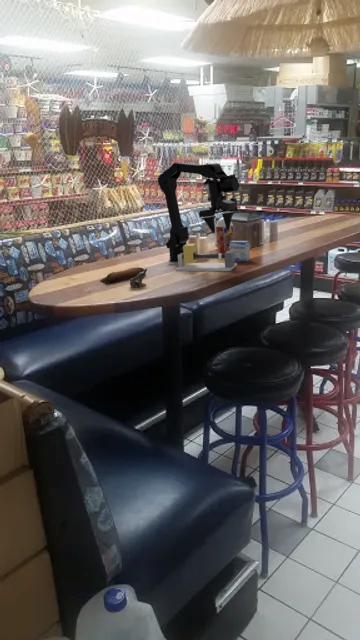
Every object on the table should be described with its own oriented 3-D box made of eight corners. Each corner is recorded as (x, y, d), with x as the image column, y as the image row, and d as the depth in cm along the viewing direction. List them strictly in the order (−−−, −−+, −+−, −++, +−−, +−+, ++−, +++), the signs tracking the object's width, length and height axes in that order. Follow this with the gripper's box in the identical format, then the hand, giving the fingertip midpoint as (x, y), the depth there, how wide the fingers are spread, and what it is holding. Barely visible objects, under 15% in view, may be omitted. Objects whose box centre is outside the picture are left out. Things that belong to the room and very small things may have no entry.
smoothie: (234, 254, 245) (233, 211, 239) (217, 255, 246) (215, 213, 239) (233, 251, 253) (232, 210, 247) (216, 252, 253) (214, 211, 247)
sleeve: (184, 263, 221) (183, 245, 219) (188, 260, 225) (186, 243, 223) (193, 263, 220) (192, 245, 217) (196, 260, 224) (195, 243, 222)
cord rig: (175, 270, 220) (174, 254, 218) (184, 264, 230) (183, 249, 228) (230, 271, 211) (229, 254, 209) (237, 265, 222) (236, 249, 220)
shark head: (144, 286, 201) (142, 268, 201) (153, 285, 196) (152, 267, 196) (127, 288, 197) (125, 270, 196) (136, 288, 192) (134, 269, 191)
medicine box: (230, 261, 231) (229, 241, 229) (233, 259, 235) (233, 240, 232) (246, 261, 228) (246, 242, 225) (250, 259, 231) (249, 240, 229)
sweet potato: (135, 273, 220) (138, 260, 216) (143, 283, 216) (146, 271, 212) (97, 281, 210) (100, 268, 206) (106, 292, 206) (108, 279, 202)
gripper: (214, 194, 207) (220, 233, 210) (244, 189, 219) (249, 226, 222) (195, 197, 215) (200, 235, 219) (225, 192, 227) (230, 228, 230)
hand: (221, 231), depth 222 cm, fingers open, 9 cm apart
